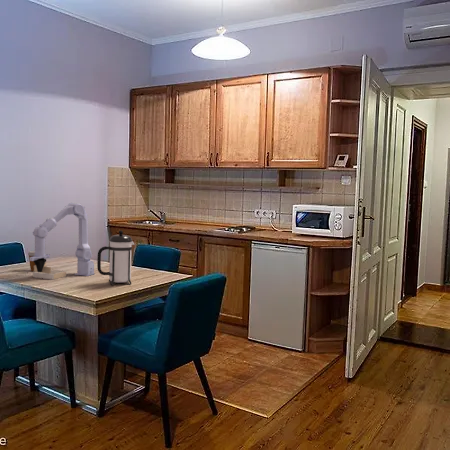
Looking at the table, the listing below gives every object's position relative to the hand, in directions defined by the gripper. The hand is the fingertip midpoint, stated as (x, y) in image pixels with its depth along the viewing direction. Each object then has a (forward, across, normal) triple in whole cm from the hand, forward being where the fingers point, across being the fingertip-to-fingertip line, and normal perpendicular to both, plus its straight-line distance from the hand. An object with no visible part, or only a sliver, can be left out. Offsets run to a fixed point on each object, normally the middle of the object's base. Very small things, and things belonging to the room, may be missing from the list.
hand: (39, 271), depth 278 cm
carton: (+4, +8, 0) cm, 10 cm away
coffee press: (+4, +12, -44) cm, 46 cm away
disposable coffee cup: (+4, +20, +20) cm, 29 cm away
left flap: (-1, +3, 0) cm, 3 cm away
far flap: (-1, +8, +7) cm, 11 cm away
